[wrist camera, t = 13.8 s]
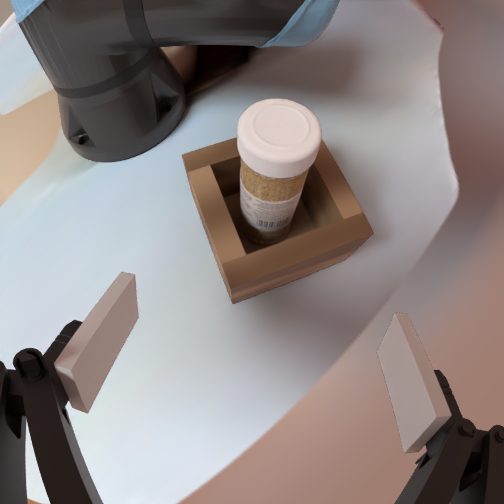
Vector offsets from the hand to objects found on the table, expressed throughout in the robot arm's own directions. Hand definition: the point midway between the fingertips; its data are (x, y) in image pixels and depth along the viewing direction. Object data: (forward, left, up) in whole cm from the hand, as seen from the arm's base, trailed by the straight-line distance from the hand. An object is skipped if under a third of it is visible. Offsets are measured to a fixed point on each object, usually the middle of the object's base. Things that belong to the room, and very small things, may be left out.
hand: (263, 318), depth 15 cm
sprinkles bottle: (-8, +4, -11) cm, 15 cm away
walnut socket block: (-8, +5, -12) cm, 15 cm away
